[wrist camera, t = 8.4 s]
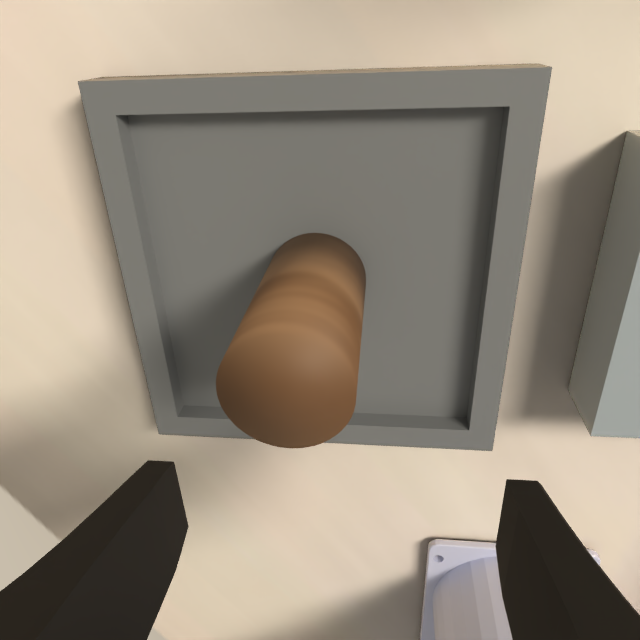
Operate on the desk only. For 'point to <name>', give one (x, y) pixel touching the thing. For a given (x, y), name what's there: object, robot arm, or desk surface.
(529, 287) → the desk surface
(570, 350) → the desk surface
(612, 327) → the square hole block
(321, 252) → the dowel
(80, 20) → the desk surface
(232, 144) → the tray
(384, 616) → the desk surface
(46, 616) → the robot arm
